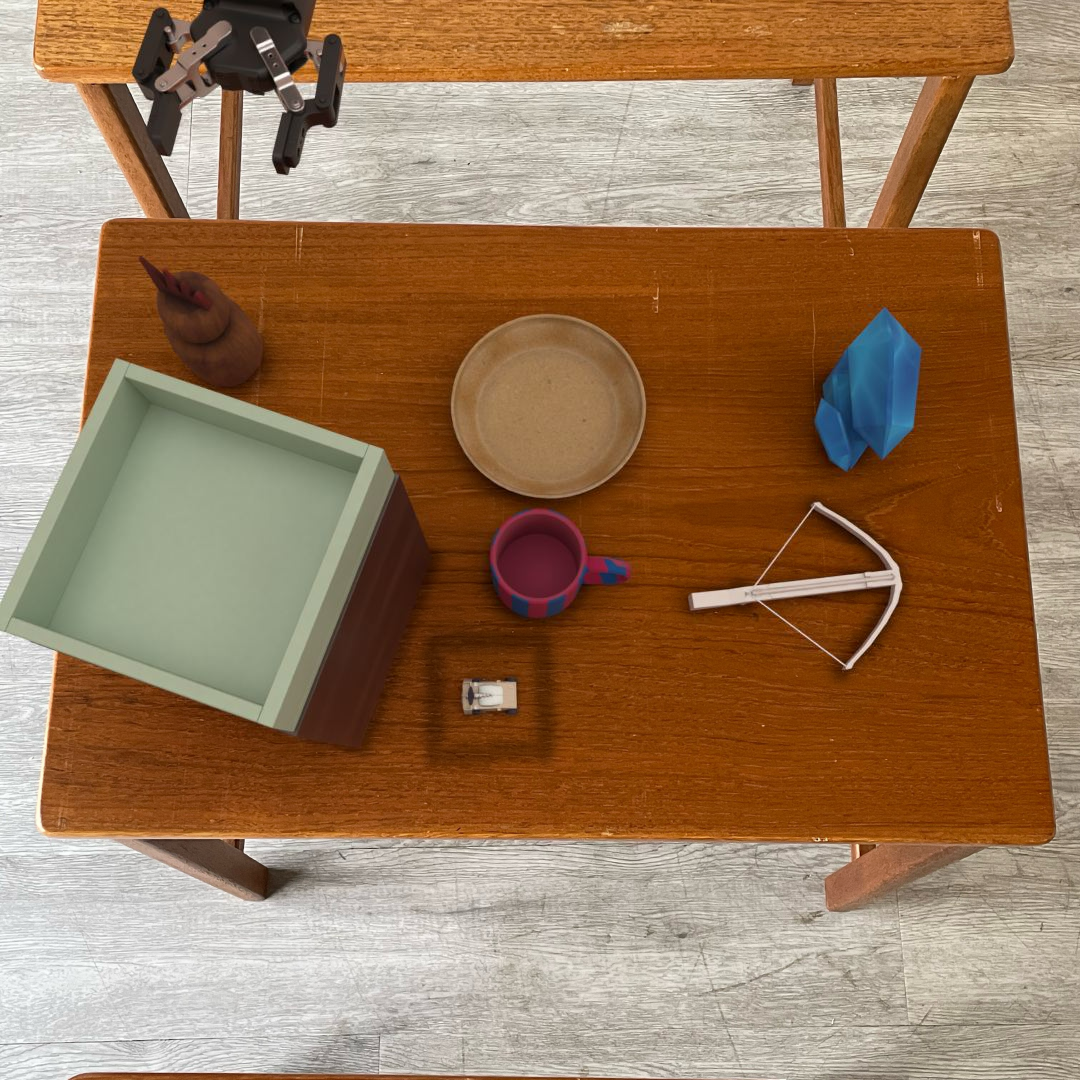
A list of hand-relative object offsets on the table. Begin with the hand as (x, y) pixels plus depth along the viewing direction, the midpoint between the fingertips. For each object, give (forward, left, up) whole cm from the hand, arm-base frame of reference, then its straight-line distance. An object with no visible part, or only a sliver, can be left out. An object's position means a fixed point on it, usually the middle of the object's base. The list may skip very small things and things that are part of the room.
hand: (220, 159), depth 73 cm
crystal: (+49, +2, -11) cm, 50 cm away
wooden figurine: (+2, -10, -11) cm, 15 cm away
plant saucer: (+27, -6, -11) cm, 30 cm away
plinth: (+15, -27, -11) cm, 33 cm away
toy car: (+30, -28, -11) cm, 43 cm away
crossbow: (+49, -13, -11) cm, 52 cm away
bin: (+15, -27, +11) cm, 33 cm away
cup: (+32, -18, -11) cm, 38 cm away
